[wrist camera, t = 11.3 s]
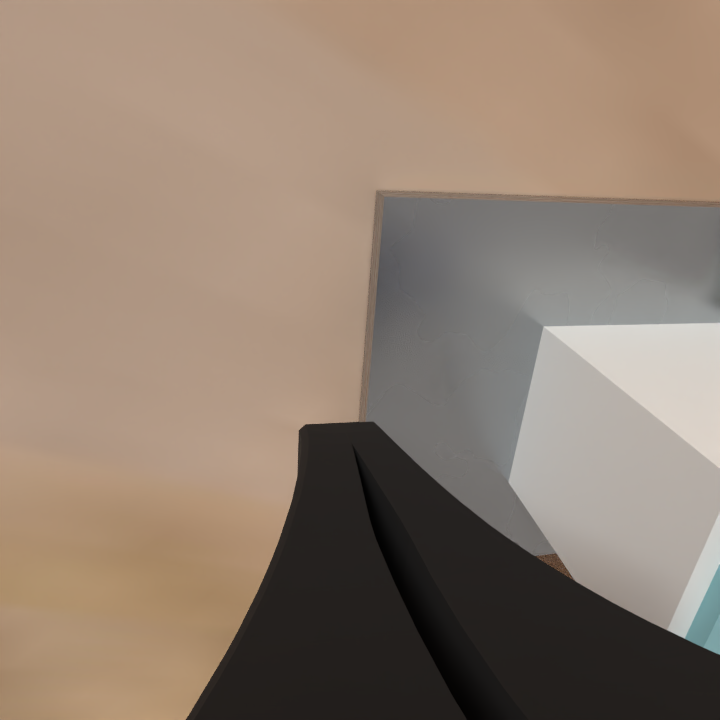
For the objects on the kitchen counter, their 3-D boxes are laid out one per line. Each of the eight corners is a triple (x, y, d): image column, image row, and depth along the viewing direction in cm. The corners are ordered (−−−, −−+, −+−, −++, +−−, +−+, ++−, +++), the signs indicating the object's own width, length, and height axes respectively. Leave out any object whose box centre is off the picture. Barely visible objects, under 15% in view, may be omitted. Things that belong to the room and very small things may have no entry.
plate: (746, 516, 17) (762, 530, 16) (348, 557, 14) (353, 576, 14) (893, 208, 13) (921, 213, 12) (376, 190, 10) (384, 196, 10)
